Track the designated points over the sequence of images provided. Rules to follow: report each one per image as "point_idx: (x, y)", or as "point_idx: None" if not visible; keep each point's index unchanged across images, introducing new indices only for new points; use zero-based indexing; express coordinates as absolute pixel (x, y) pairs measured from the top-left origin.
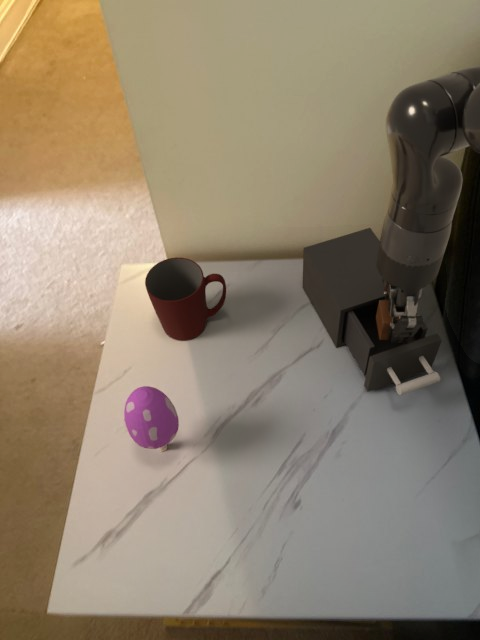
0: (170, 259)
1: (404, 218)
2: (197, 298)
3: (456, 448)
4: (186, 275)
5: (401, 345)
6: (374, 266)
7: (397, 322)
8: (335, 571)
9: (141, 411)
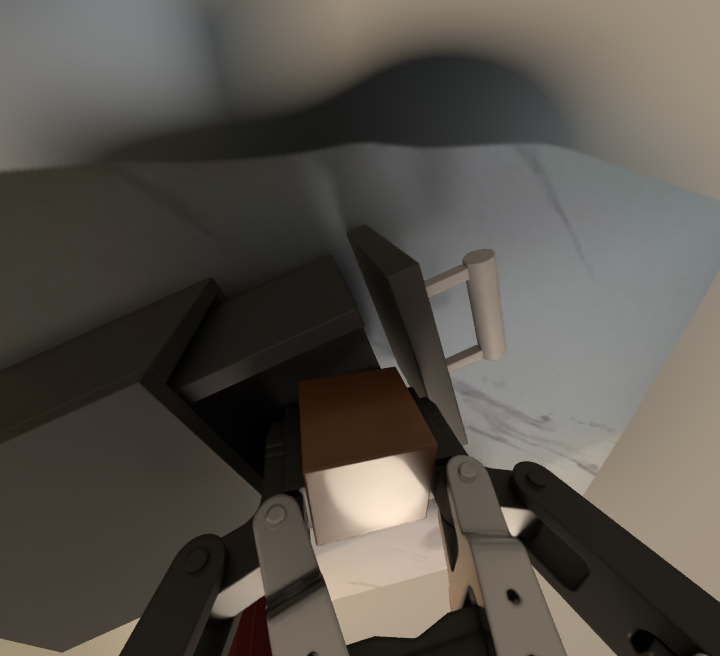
0: None
1: None
2: None
3: (546, 189)
4: None
5: (425, 389)
6: (57, 513)
7: (598, 632)
8: (626, 374)
9: None
